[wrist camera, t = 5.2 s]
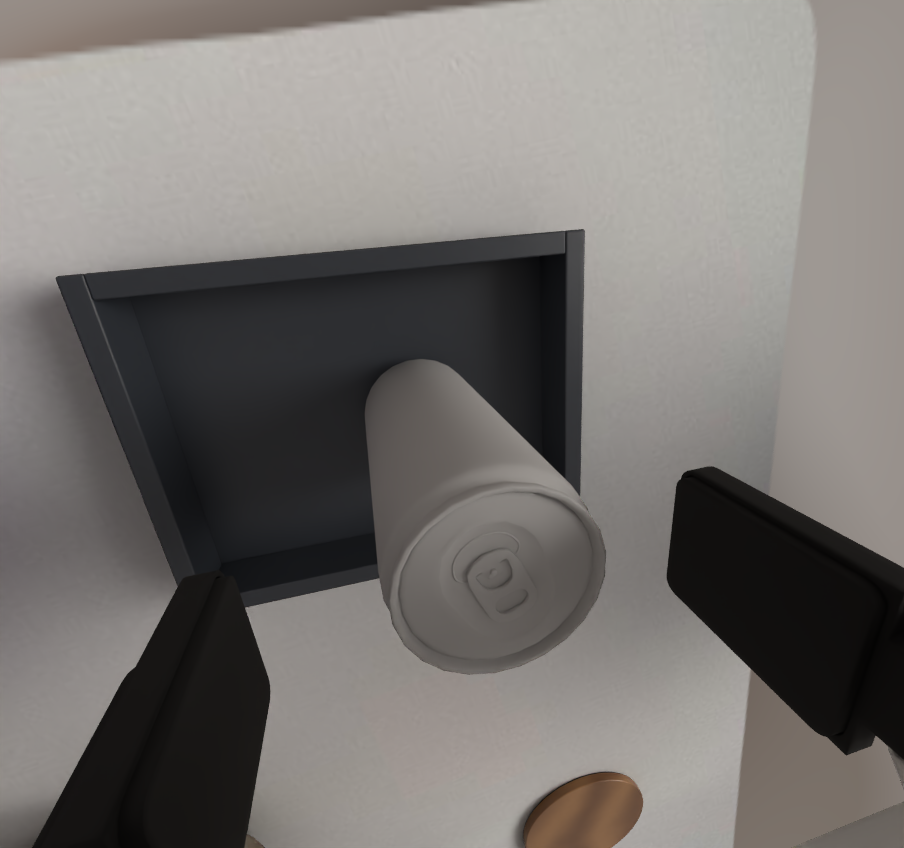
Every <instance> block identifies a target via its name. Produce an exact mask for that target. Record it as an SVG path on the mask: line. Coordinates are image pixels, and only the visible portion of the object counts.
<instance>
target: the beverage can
mask: <svg viewBox="0 0 904 848" xmlns="http://www.w3.org/2000/svg"><path fill="white" fill-rule="evenodd" d="M365 425H366V437H367V448H368V460H369V471H370V482H371V494H372V505H373V517H374V528H375V540H376V551H377V562H378V573H379V578H380V583H381V589H382V594H383V599H384V602H385V604H386V605H387V607H388V609H389V611H390V613H391V619H392V624H393V626H394V628H395V630H396V631H397V633H398V635H399V637H400V638H401V640H402V642H403V644H404V645H405V646H406V647H407V648H408V649H409V650H410V651H412V652H413V653H414V654H415V655H416V656H417V657H419V658H420V659H421V660H422V661H424V662H426V663H428V664H431V665H433V666H435V667H437V668H440V669H442V670H444V671H450V672H456V673H462V674H469V675H470V674H486V673H497V672H500V671H504V670H508V669H512V668H515V667H519V666H522V665H524V664H526V663H528V662H530V661H532V660H534V659H536V658H539V657H541V656H543V655H545V654H546V653H548V652H549V651H550V650H552V649H553V648H554V647H556V646H557V645H559V644H560V643H561V642H563V641H564V640H565V639H567V638H568V637H569V636H570V634H571V633H572V632H573V631H574V630H575V629H576V628H577V627H578V626H579V625H580V624H581V623H582V622H583V621H584V619H585V618H586V616H587V615H588V613H589V611H590V610H591V608H592V606H593V605H594V603H595V601H596V600H597V598H598V595H599V592H600V589H601V586H602V583H603V580H604V577H605V563H606V550H605V547H604V543H603V539H602V535H601V531H600V529H599V527H598V526H597V524H596V523H595V521H594V520H593V519H592V517H591V516H590V514H589V512H588V509H587V507H586V505H585V504H584V502H583V501H582V499H581V498H580V497H579V495H578V494H577V492H576V491H575V489H574V488H573V487H572V485H571V484H570V483H569V482H568V481H567V480H566V479H565V478H564V477H563V476H562V475H561V474H560V473H559V472H557V471H556V470H555V469H554V468H553V467H552V466H551V465H550V464H549V463H548V462H547V461H546V460H545V459H544V458H543V457H542V456H541V455H540V454H539V453H538V452H537V451H536V450H535V449H534V448H533V447H532V446H531V445H530V444H529V443H528V442H527V441H526V440H525V439H524V438H523V437H522V436H521V435H520V434H519V433H518V432H517V431H516V430H515V429H514V428H513V427H512V426H511V425H510V424H509V423H508V422H507V421H506V420H505V419H504V418H503V417H502V416H501V415H500V414H499V413H498V412H497V411H496V410H495V409H494V408H493V407H492V406H490V405H489V404H488V403H487V402H486V401H485V400H484V399H483V398H482V397H481V396H480V395H479V394H478V393H477V392H476V391H475V390H474V389H473V388H472V387H471V386H470V385H469V384H468V383H467V382H466V381H465V380H464V379H463V378H462V377H461V376H460V375H459V374H458V373H456V372H455V371H454V370H453V369H451V368H450V367H449V366H447V365H445V364H442V363H440V362H437V361H434V360H426V359H416V360H408V361H404V362H402V363H400V364H397V365H395V366H392V367H391V368H390V369H388V370H387V371H386V372H385V373H383V374H382V375H381V376H380V377H379V378H378V379H377V381H376V382H375V383H374V385H373V386H372V387H371V390H370V392H369V395H368V397H367V400H366V406H365Z"/></svg>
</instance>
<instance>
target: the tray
mask: <svg viewBox="0 0 904 848" xmlns="http://www.w3.org/2000/svg"><path fill="white" fill-rule="evenodd" d="M584 244H585V231H584V230H583V229H579V230H568V231H557V232H546V233H534V234H523V235H512V236H501V237H490V238H478V239H467V240H456V241H445V242H434V243H422V244H411V245H400V246H389V247H378V248H367V249H355V250H344V251H333V252H322V253H311V254H299V255H288V256H277V257H266V258H255V259H243V260H232V261H221V262H210V263H199V264H187V265H176V266H165V267H154V268H143V269H132V270H120V271H109V272H98V273H87V274H76V275H65V276H58V277H56V281H57V284H58V286H59V289H60V291H61V294H62V296H63V299H64V301H65V304H66V306H67V309H68V311H69V314H70V316H71V319H72V321H73V324H74V326H75V329H76V331H77V334H78V336H79V339H80V341H81V344H82V346H83V349H84V352H85V354H86V357H87V359H88V362H89V364H90V367H91V369H92V372H93V374H94V377H95V379H96V382H97V384H98V387H99V389H100V392H101V394H102V397H103V399H104V402H105V404H106V407H107V409H108V412H109V415H110V417H111V420H112V422H113V425H114V427H115V430H116V432H117V435H118V437H119V440H120V442H121V445H122V447H123V450H124V452H125V455H126V457H127V460H128V462H129V465H130V467H131V470H132V472H133V475H134V477H135V480H136V483H137V485H138V488H139V490H140V493H141V495H142V498H143V500H144V503H145V505H146V508H147V510H148V513H149V515H150V518H151V520H152V523H153V525H154V528H155V530H156V533H157V535H158V538H159V540H160V543H161V546H162V548H163V551H164V553H165V556H166V558H167V561H168V563H169V566H170V568H171V571H172V573H173V576H174V578H175V581H176V583H177V586H179V584H180V582H181V581H182V579H183V578H185V577H187V576H192V575H197V574H201V573H206V572H211V571H216V570H219V571H221V572H222V573H223V574H224V576H225V577H226V576H233V577H234V578H235V580H236V583H237V586H238V589H239V592H240V595H241V598H242V601H243V604H244V607H250V606H254V605H259V604H263V603H268V602H273V601H277V600H282V599H286V598H291V597H295V596H300V595H305V594H309V593H314V592H318V591H323V590H327V589H332V588H337V587H341V586H346V585H350V584H355V583H359V582H364V581H369V580H373V579H378V578H379V573H378V562H377V551H376V540H375V528H374V517H373V505H372V494H371V482H370V471H369V460H368V448H367V437H366V425H365V406H366V400H367V397H368V395H369V392H370V390H371V387H372V386H373V385H374V383H375V382H376V381H377V379H378V378H379V377H380V376H381V375H382V374H383V373H385V372H386V371H387V370H388V369H390V368H391V367H392V366H395V365H397V364H400V363H402V362H404V361H408V360H416V359H426V360H434V361H437V362H440V363H442V364H445V365H447V366H449V367H450V368H451V369H453V370H454V371H455V372H456V373H458V374H459V375H460V376H461V377H462V378H463V379H464V380H465V381H466V382H467V383H468V384H469V385H470V386H471V387H472V388H473V389H474V390H475V391H476V392H477V393H478V394H479V395H480V396H481V397H482V398H483V399H484V400H485V401H486V402H487V403H488V404H489V405H490V406H492V407H493V408H494V409H495V410H496V411H497V412H498V413H499V414H500V415H501V416H502V417H503V418H504V419H505V420H506V421H507V422H508V423H509V424H510V425H511V426H512V427H513V428H514V429H515V430H516V431H517V432H518V433H519V434H520V435H521V436H522V437H523V438H524V439H525V440H526V441H527V442H528V443H529V444H530V445H531V446H532V447H533V448H534V449H535V450H536V451H537V452H538V453H539V454H540V455H541V456H542V457H543V458H544V459H545V460H546V461H547V462H548V463H549V464H550V465H551V466H552V467H553V468H554V469H555V470H556V471H557V472H559V473H560V474H561V475H562V476H563V477H564V478H565V479H566V480H567V481H568V482H569V483H570V484H571V485H572V487H573V488H574V489H575V491H576V492H577V494H578V495H579V497H580V473H581V415H582V358H583V301H584Z"/></svg>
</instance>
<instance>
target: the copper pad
mask: <svg viewBox="0 0 904 848" xmlns="http://www.w3.org/2000/svg"><path fill="white" fill-rule="evenodd" d="M642 807H643V798H642V794H641V792H640V790H639V788H638V786H637V785H636V783H635V782H634V781H633V780H632V779H631V778H629V777H627V776H625V775H623V774H619V773H612V772H605V773H596V774H591V775H587V776H584V777H581V778H578V779H576V780H573V781H571V782H569V783H567V784H565V785H563V786H562V787H560V788H558V789H557V790H555V791H554V792H552V793H551V794H550V795H548V796H547V797H546V798H545V799H544V800H543V801H542V802H541V803H540V804H539V805H538V806H537V807H536V808H535V809H534V811H533V812H532V813H531V815H530V816H529V818H528V820H527V822H526V825H525V828H524V833H523V839H524V844H525V847H526V848H611V847H613V846H614V845H615V844H617V843H618V842H619V841H620V840H621V839H623V838H624V837H625V836H626V835H627V834H628V833H629V832H630V830H631V829H632V828H633V827H634V825H635V824H636V822H637V821H638V819H639V817H640V814H641V812H642Z"/></svg>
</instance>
